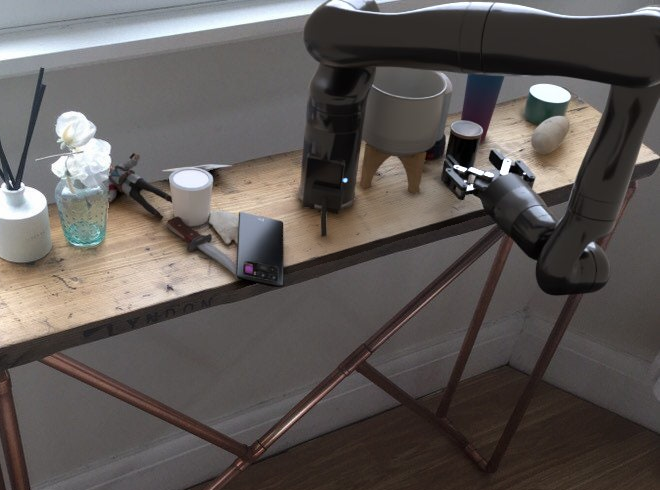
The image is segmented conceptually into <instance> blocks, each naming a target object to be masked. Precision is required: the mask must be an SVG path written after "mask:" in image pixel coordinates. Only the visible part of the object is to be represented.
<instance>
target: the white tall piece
mask: <svg viewBox="0 0 660 490" xmlns="http://www.w3.org/2000/svg"><path fill="white" fill-rule="evenodd" d="M435 72H437V73H439V74H440V75H441V76H442V77H443V78H444V79H445V81H446V84H447V86H446V92H445V97H444V102H443V107H442V112H441V117H440V122H439V127H438V132H437V137H436V142H435V144H434V145H433V147H432V148H430V149H429V150H427V151H425V152H426V157H425V162H427V161H435V160H438V159H440V158H441V157H443V156H444V154H445V148H446V145H447V136H446V133H445V130H446V125H447V120H448V116H449V115H448V114H449V110H450V105H451V101H452V96H453V84H452V82H451V80H450V78H449V77H448V76H447V75H446V74H444V73H443V72H442V71H435Z"/></svg>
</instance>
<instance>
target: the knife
mask: <svg viewBox="0 0 660 490" xmlns="http://www.w3.org/2000/svg"><path fill="white" fill-rule="evenodd" d="M167 229H168V230H169V231H171V232H172V233H173V234H174V235H176V236H178V237H179V238H180V239H182V240H183V241H184V242H186V243H188V244H187V245H186V250H187V251H188V252H194V251H196V250H198V249H199V250H200V251H202V252H203V253H204V254H206V255H207V256H208V257H210V258H212V259H213V260H214V261H216V262H217V263H218V264H221V265H222V266H224V267H225V268H226V269H228V270H229V271H230V273H232V274H233V276H235V277H236V265H237V264H235V262H234V261H233V260H232V259H231V258H230V257H229V256H228V255H227V254H225V253H224V252H223V251H221V250H220V249H219V248H217V247H216V246H214V245H213V244H211V243H210V242H212V239H213V235H212V234H211V233H209V234H205V235H203V234H200V233H199V231H198V230H195V229H193V228H192V226H188V225H186V224H185V223H184V222H183V221H182V219H181V218H179V217H174V216H173V217H171V218H170V219H168V220H167Z"/></svg>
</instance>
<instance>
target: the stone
mask: <svg viewBox="0 0 660 490" xmlns="http://www.w3.org/2000/svg"><path fill="white" fill-rule="evenodd" d="M570 125H571V124H570V120H569V119H568V118H567V117H566V116H565V117H563V116H555V117H551V118H549V119H547V120H545V121H544V122H542V123H541V124H540V125H537V127H536V128H535V129H534V131H533V132H532V134H531V138H530V144H531V147H532V149H533V150H534V151H536V153H538V154H542V155H547V154H551V153H552V152H554V151H555V150H557V148H559V147H560V145H561V144H562V143H563V142H564V140H565V138H566V137H567V135H568V134H569V131H570V128H571V127H570Z"/></svg>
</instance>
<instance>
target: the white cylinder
mask: <svg viewBox="0 0 660 490" xmlns="http://www.w3.org/2000/svg"><path fill="white" fill-rule="evenodd" d="M181 168H182V167H181ZM168 181H169V189H170V196H172V203H171V204H172V211H173V218H174V217H179V218H181V219H182V221H183V222H184V223H185V224H186V225H188V226H190V227H198V226H202V225H204V224H205V223H207V222H208V221H209V218H210V214H209V213H210V212H211V203H212V195H213V185H214V177H213V175H212V174H211V173H210V172H209V171H207V170H206V169H204V170H203V169H199V168H182V169H178V170H176V171H172V172H171V173H170V175H169V176H168Z"/></svg>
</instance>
